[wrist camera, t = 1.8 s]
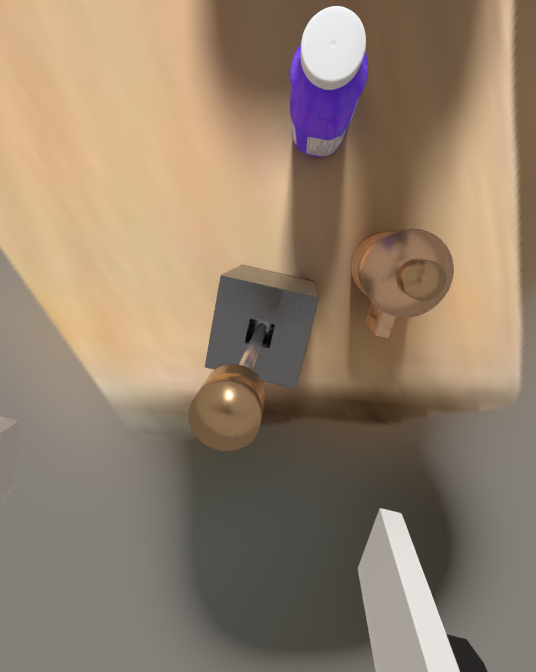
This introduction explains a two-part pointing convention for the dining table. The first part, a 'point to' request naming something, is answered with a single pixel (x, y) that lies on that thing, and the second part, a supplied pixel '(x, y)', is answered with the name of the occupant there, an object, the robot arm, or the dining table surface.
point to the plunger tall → (232, 398)
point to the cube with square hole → (267, 306)
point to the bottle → (327, 80)
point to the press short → (401, 275)
